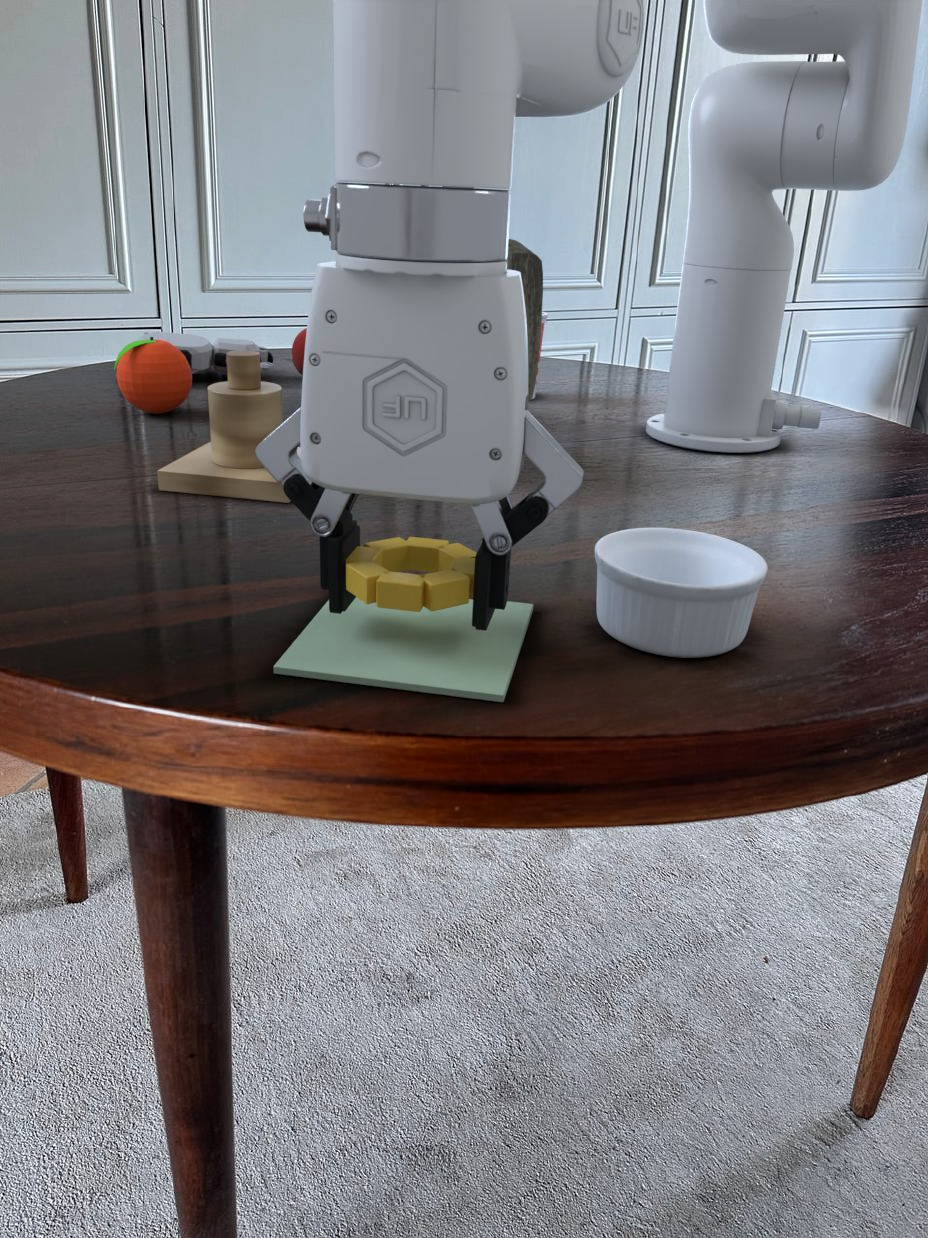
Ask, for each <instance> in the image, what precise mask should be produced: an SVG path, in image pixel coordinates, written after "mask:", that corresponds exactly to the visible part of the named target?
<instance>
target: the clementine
mask: <svg viewBox="0 0 928 1238" xmlns="http://www.w3.org/2000/svg"><path fill="white" fill-rule="evenodd" d="M115 371H116V375H115V376H116V381H117V386H118V389H119V391H120V392H121V395H122V397H124V399H125V400H126V401H127V402H128V403H129V404H130V405H131V406H133V407H135V408H136V409H138V410H140V411H142V412H145V413H147V414H153V415H154V414H157V415H158V414H159V415H160V414H166V413H169V412H171V411H174V410H176V409H177V408H178V407H180V406H181V405H182V404H183V403H184V402H185V401H186V399H187V398H188V397H189V395H190V391H191V389H192V387H193V386H192V385H193V374H192V373H191V368H190V365H189V363H188V361H187V359H186V357H185V356H184V355H183V353H182V352H181V351H180V350H179V349H178V348H176V347H175V346H174V345H172V344H171V343H169V342H167V341H163V340H153V337H150V339H148V340H140V341H137V340H134V341H132V342H129V343H128V344H126V345H124V347H123V348H122V349H121V350H120V351H119V352H118V354H117V356H116V359H115V362H114V368H113V372H115Z"/></svg>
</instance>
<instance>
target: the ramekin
mask: <svg viewBox="0 0 928 1238" xmlns="http://www.w3.org/2000/svg"><path fill="white" fill-rule="evenodd" d="M594 559H595V564H596V599H595V601H596V618H597V621H598V623H599V626H601V628H602V629H603V631H605V632H606V633H607V634H608V635H609V636H611V637H612V638H613V639H614V640H616V641H618V642H619V643H621V644H624V645H625V646H628V647H630V648H633V649H636V650H639V651H642V652H646V653H650V654H653V655H657V656H663V657H669V658H680V659H681V658H682V659H683V658H684V659H686V658H687V659H698V658H707V657H708V658H709V657H715V656H718V655H722V654H725V653H728V652H730V651H731V650H734V649H735V648H737V647H738V646H740V644H742V643H743V641H744V639H745V638H746V635H747V633H748V631H749V627H750V624H751V620H752V616H753V613H754V609H755V605H756V602H757V598H758V594H759V591H760V588H761V586H762V585H763V584H764V582H765V579H766V576H767V573H768V569H769V568H768V567H769V566H768V564H767V562H766V559H765V558H764V557H763V556H762V555H761V554H760V553H758V552H757V551H755V550H754V549H752V548H750V547H748V546H747V545H745V544H742V543H740V542H737V541H735V540H732V539H729V538H727V537H723V536H720V535H716V534H711V533H707V532H702V531H696V530H689V529H683V528H682V529H681V528H672V527H636V528H628V529H621V530H619V531H615V532H612V533H611V532H610V533H609V534H606V535H604V536H602V537H601V538H600V539H599V540H598V541H597V542H596V543H595V545H594Z"/></svg>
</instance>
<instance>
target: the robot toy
mask: <svg viewBox="0 0 928 1238" xmlns="http://www.w3.org/2000/svg"><path fill="white" fill-rule="evenodd" d="M150 337H153V340H163V341H167V342H169V343H171V344H172V345H174V346H175V347H176V348H178V349H179V350H180V351H181V352H182V353H183V355H184V356H185V357H186V359H187V361H188V363H189V365H190V368H191V373H192V375H199V374H203V373H205V372H208V371H209V369H211V368H213V369H214V371H215V372H216V373H217V374H218V375H225V376H228V374H227V356H226V354H227V352H230V351H237V350H248V351H256V352H259V353H260V368H261V373H264V372H270V371H272V370H275V365H274V355H273V354H272V353H271V352H270V350H268V348H267V347H265V346H258V345H257V344H256V343H255V342H254V341H253V340H250V339H249V340H248V339H241V338H227V337H226V338H223V337H219V338H217V339H216V340H215V341H214V342H213V344H212V343H211V342H210V341H209V339H207V338H205V337H204V336H201V335H197V334H190V333H180V332H179V333H178V332H166V331H156V332H155V331H154V332H148V331H146V332H145V331H144V332H143V334H142V335H141V336H140V337H139V338H138V339H136V341H140V340H148V339H150Z"/></svg>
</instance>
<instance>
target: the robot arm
mask: <svg viewBox="0 0 928 1238" xmlns="http://www.w3.org/2000/svg"><path fill="white" fill-rule="evenodd" d="M923 2H924V1H923V0H702V3H703V13H704V22H705V27H706V31H707V34H708V36H709V39H710V41H711V42H712V43H713V45H715V47H717V48H718V49H720V50H722V51H725V52H728V53H731V54H738V55H751V56H754V55H755V56H786V55H787V56H790V55H791V56H794V55H798V56H799V55H800V56H801V55H837V56H839V57H841V58H842V59H843V60H844V61H841V60H840V61H806V60H793V61H792V60H784V61H783V60H778V61H777V60H776V61H773V60H772V61H771V60H769V61H768V60H767V61H750V62H741V63H737V64H732V65H728V66H724V67H723V68H720V69H718V70H716V71H714V72H712V73H711V74H710V75H708V76H707V77H706V78H705V79H704V80H703V81H702V82H701V84H700V85H699V86H698V88H697V90H696V91H695V93H694V96H693V97H692V101H691V104H690V109H689V115H688V125H687V126H688V127H687V140H688V142H687V143H688V164H689V165H688V170H689V171H688V172H689V174H688V175H689V176H688V177H689V180H688V184H689V185H688V186H689V187H688V208H687V221H686V232H685V240H684V249H683V257H682V265H681V273H680V282H679V288H678V298H677V306H676V314H675V321H674V322H675V323H674V330H673V338H672V347H671V354H670V355H671V357H670V362H669V363H670V364H669V371H668V379H667V387H666V388H667V389H666V396H665V403H664V404H665V405H664V413H659V414H655V415H652V416H651V417H649V418H648V419H647V420H646V424H645V426H646V427H645V432H646V433H647V435H648V436H650V437H651V438H653V439H654V440H657V441H659V442H661V443H665V444H667V445H672V446H675V447H678V448H679V447H680V448H683V449H689V450H697V451H704V452H714V453H731V454H733V453H734V454H735V453H737V454H741V453H746V454H747V453H756V452H757V453H759V452H765V451H771V450H773V449H775V448H776V447H778V446H779V445H780V444H781V439H782V436H783V435H782V430H783V428H784V426H788V427H797V428H799V429H811V430H818V429H819V427H820V424H821V418H822V409H821V407H813V406H812V407H810V406H804V404H796V403H789V404H788V403H786V402H784V401H779V400H778V399H777V397H776V395H775V394H774V392H773V389H772V388H773V382H774V375H775V369H776V363H777V358H778V351H779V346H780V339H781V334H782V327H783V321H784V315H785V310H786V304H787V303H786V302H787V297H788V292H789V285H790V278H791V272H792V267H793V264H794V263H793V262H794V255H795V241H794V237H793V236H794V235H793V232H792V229H791V227H790V225H789V223H788V221H787V218H786V217H785V215H784V214H783V212H782V210H781V209H780V207H779V205H778V203H777V202H776V200H775V197H774V195H773V192H775V191H777V190H778V191H779V190H780V191H781V190H782V191H783V190H789V189H790V190H811V191H836V192H837V191H838V192H846V191H847V192H850V191H851V192H854V191H856V192H857V191H866V190H870V189H873V188H875V187H877V186H879V185H880V184H881V185H882V184H883V182H885V181H887V179H888V178H889V177H890V176H891V174H892V173H893V171H894V170H895V168H896V166H897V164H898V161H899V160H900V157H901V153H902V150H903V147H904V142H905V138H906V133H907V128H908V127H907V126H908V120H909V113H910V105H911V97H912V91H913V90H912V89H913V82H914V81H913V80H914V74H915V73H914V72H915V65H916V64H915V63H916V57H917V48H918V39H919V33H920V24H921V15H922V10H923V9H922V8H923ZM332 17H333V18H332V23H333V28H332V30H333V32H332V33H333V34H332V35H333V104H334V105H333V108H334V109H333V116H334V117H333V120H334V121H333V122H334V123H333V124H334V125H333V126H334V128H333V129H334V130H333V131H334V181H335V182H336V183H335V184H330V187H329V188H330V189H329V192H330V193H328V196H324V197H322V198H321V199H306V201H305V203H304V207H303V214H302V215H303V224H304V228H305V230H306V231H307V232H308V233H321V234H322V236H325V237H328V239H329V242H330V249H331V251H335V260H334V261H325V262H320V263H317V264H316V268H315V271H314V276H313V282H312V286H311V287H312V288H311V293H310V299H309V307H308V314H307V324H306V328H307V332H306V342H305V354H304V366H303V376H302V383H301V396H300V397H301V398H300V399H301V401H300V407H299V408H298V409H297V410H296V411H295V412H294V413H292V414H291V415H290V416H289V417H288V418H287V419H286V420H285V421H283V423H282V424H281V425H280V426H279V427H278V428H277V429H276V430H275V431H273V432H272V433H271V434H270V435H269V436H268V437H267V438H266V439H264V440H263V441H262V442H261V443H260V444H259V445H258V446H257V447H256V449H255V455H256V457H257V459H258V460H259V462H260V463H261V464H262V465H263V466H264V467H265V469H266V470H267V471H268V472H269V473H270V474H271V476H272V477H273V478H274V479H275V480H276V482H277V483H280V484H281V485H282V487H283V490H284V493H285V495H286V496H287V497H288V498H289V499H290V500H291V501H290V502H291V503H292V504H293V505H294V506H295V507H296V508H297V509H298V511H300V513H301V514H302V515H303V516H304V517H305V518H306V519H307V520H308V522H309V527H310V530H311V531H312V532H313V534H314V535H316V536H318V537H319V576H320V577H319V581H320V588H321V590H324V591H328V600H329V611H330V613H337V614H341V613H342V612H345V611H346V610H347V608H348V607H349V606H350V604H351V603H352V602H353V601H354V599H355V598H356V596H355V595H353V594H352V593H350V592H349V591H347V590H346V573H345V560H346V559H347V557H348V556H349V555H350V554H351V553H352V552H353V551H354V550H355V548H356V547H357V546H361V526H360V525H358V520H356V519H353V514H352V512H351V511H352V509H353V507H354V505H355V504H356V501H357V499H358V497H359V495H368V496H377V497H387V498H397V499H408V500H419V501H429V502H441V503H451V504H465V505H469V506H470V508H471V511H472V513H473V515H474V518H475V521H476V523H477V525H478V527H479V529H480V533H481V535H482V538H481V544H480V546H479V548H478V550H477V552H476V553H477V554H476V557H475V570H474V590H473V611H472V626H473V627H475V628H476V630H484V631H486V630H487V628H488V626H489V623H490V621H491V618H492V616H493V614H494V611H495V609H501V610H504V609H505V607H506V604H507V601H508V598H509V587H510V573H511V571H510V570H511V556H512V548H513V547H514V546H515V545H516V544H517V543H519V542H520V541H521V540H522V539H523V538H525V537H527V535H529V534H530V533H531V532H532V531H533V530H535V529H536V528H537V527H539V526H540V525H541V524H543V522H544V521H545V520H547V518H548V517H549V516H550V515H551V514H552V513H553V512H555V511H556V510H557V509H558V508H560V507H561V506H562V505H563V504H564V503H565V502H566V501H567V500H568V499H570V498H571V497H572V496H573V495H574V494H575V493H576V492H578V491H579V490H580V488H581V487H582V485H583V482H584V478H585V471H584V470H583V468H582V467H581V465H580V464H579V463H578V462H577V461H576V460H575V459H574V458H573V456H571V455H570V454H569V453H568V452H567V451H566V450H565V448H563V446H561V444H560V443H559V442H558V441H557V440H556V439H555V438H554V437H553V436H552V435H551V433H549V431H547V430H546V428H545V427H544V426H543V425H542V424H541V423H540V421H538V420H537V419H536V417H534V415H533V414H532V413H531V412H530V411H529V402H528V340H527V322H526V310H525V301H524V292H523V285H522V278H521V273H520V272H519V271H515V270H508V269H507V257H508V239H510V238H509V237H510V221H511V220H510V219H511V202H512V201H511V199H512V192H511V190H512V187H513V186H512V185H513V168H514V152H515V151H514V150H515V134H516V133H515V132H516V118H533V119H536V118H537V119H555V118H556V119H558V118H569V117H575V116H576V117H577V116H581V115H585V114H587V113H590V112H592V111H595V110H596V109H599V108H601V107H602V106H604V105H606V104H607V103H608V102H609V101H611V100H612V99H613V98H614V97H615V96H616V95H617V94H618V93H619V92H620V91H621V90H622V89H623V87H624V86H625V85H626V83H627V81H628V80H629V78H630V77H631V75H632V72H633V71H634V68H635V66H636V64H637V61H638V58H639V55H640V51H641V46H642V42H643V37H644V25H645V24H644V23H645V22H644V21H645V8H644V0H332ZM442 186H450V187H442ZM457 187H473V188H457ZM298 447H300V450H301V460H300V458H299V457H298V455H297V448H298ZM526 457H527V459H528V460H530V462H532V464H533V465H535V466H536V467H537V468H538V470H539V471H540V472H541V473H542V475H543V476H544V481H543V482H542V483H541V484H540V485H538V487H537V488H536V489H535V490H533V491H531V492H530V493H528V495H527V496H525V497H524V498H523V499H521V501H519V502H518V503H516V504H515V505H514V506H513V504H512V500H511V499H510V498H511V497H510V493H511V492H512V491H513V490H514V489H515V487H516V485H517V482H518V479H519V477H520V473H521V472H522V470H523V468H524V465H525V460H526Z"/></svg>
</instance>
